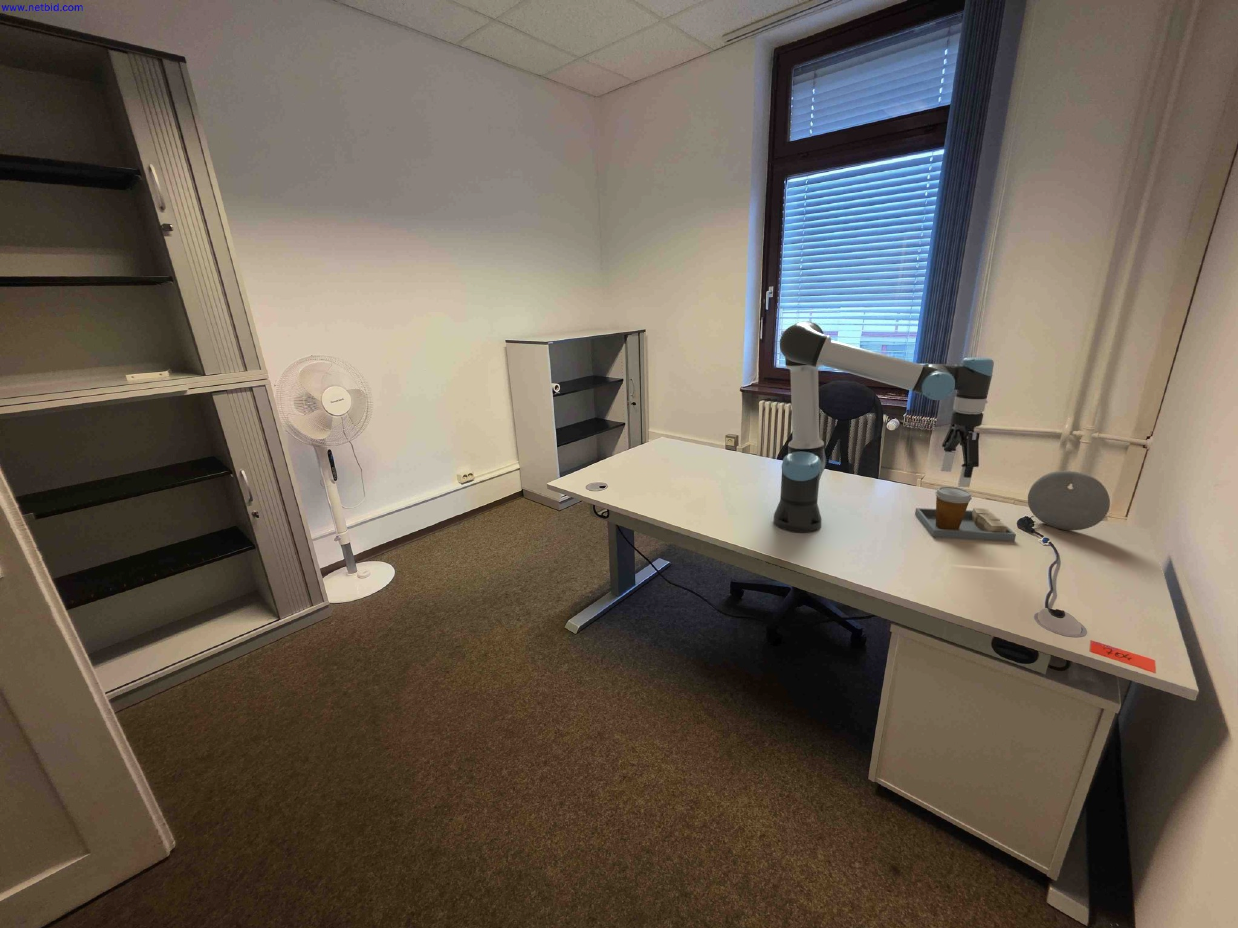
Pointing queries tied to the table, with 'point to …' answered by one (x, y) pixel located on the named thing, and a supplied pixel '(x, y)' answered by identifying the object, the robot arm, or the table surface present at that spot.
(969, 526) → the tray
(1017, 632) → the table surface
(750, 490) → the table surface
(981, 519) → the block
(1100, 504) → the dark grey disc
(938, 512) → the disposable coffee cup
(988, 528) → the block
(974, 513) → the block
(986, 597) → the table surface
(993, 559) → the table surface
